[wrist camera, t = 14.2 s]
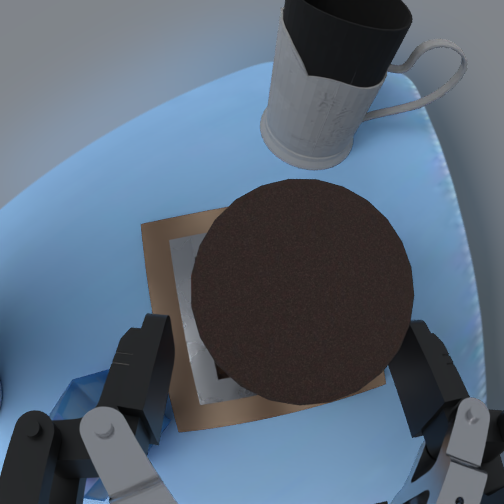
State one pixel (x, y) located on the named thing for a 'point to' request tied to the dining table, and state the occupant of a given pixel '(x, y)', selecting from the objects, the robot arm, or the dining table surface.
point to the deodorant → (302, 291)
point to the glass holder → (336, 76)
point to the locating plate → (187, 337)
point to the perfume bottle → (76, 406)
